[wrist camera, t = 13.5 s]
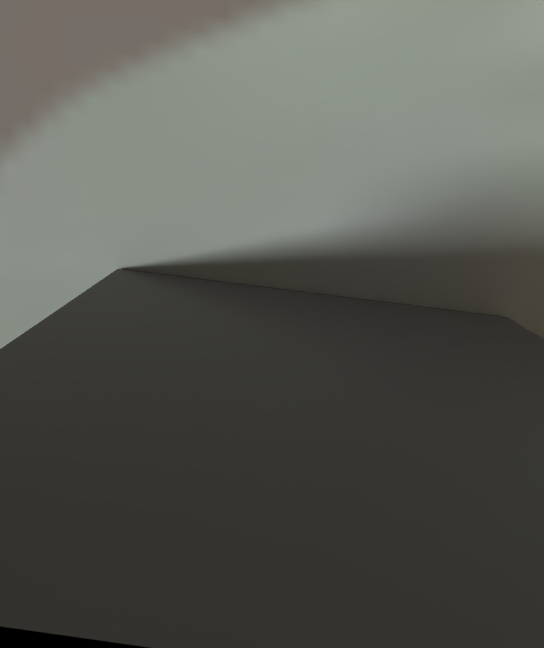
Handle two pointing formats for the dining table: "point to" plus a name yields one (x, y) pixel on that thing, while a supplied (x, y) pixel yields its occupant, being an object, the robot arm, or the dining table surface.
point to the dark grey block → (269, 473)
